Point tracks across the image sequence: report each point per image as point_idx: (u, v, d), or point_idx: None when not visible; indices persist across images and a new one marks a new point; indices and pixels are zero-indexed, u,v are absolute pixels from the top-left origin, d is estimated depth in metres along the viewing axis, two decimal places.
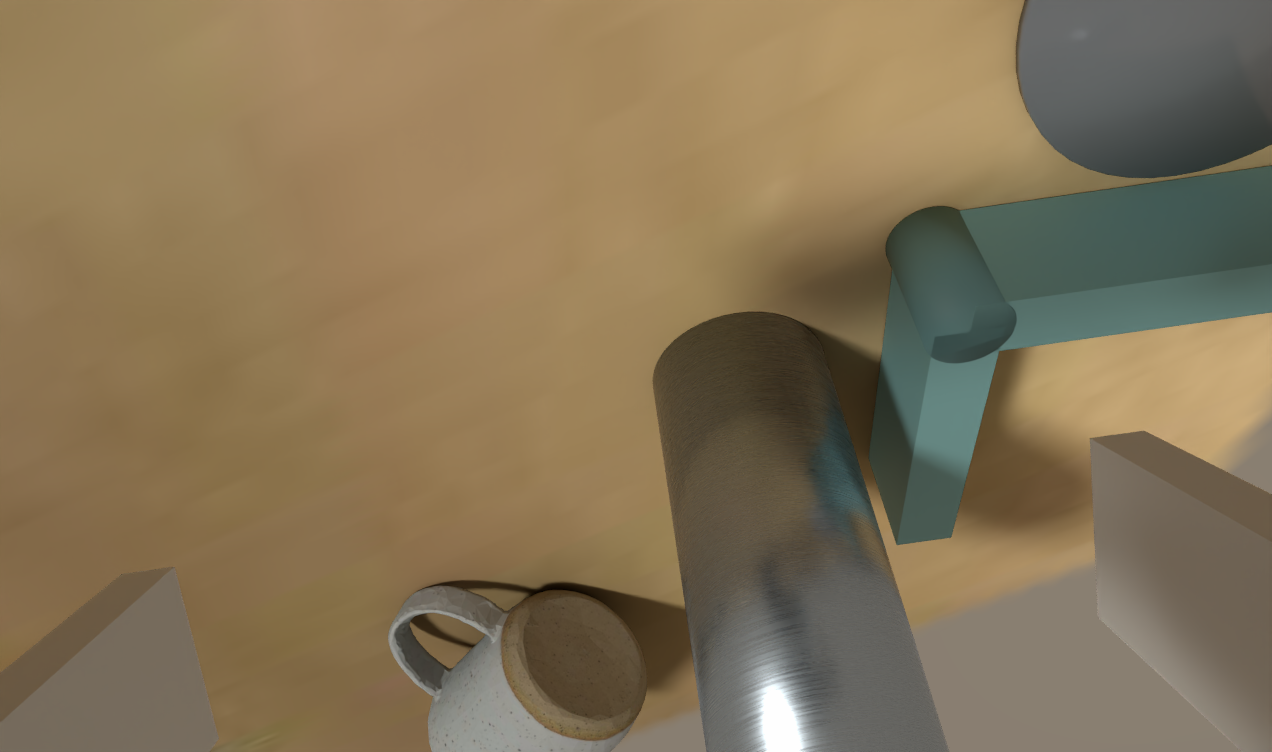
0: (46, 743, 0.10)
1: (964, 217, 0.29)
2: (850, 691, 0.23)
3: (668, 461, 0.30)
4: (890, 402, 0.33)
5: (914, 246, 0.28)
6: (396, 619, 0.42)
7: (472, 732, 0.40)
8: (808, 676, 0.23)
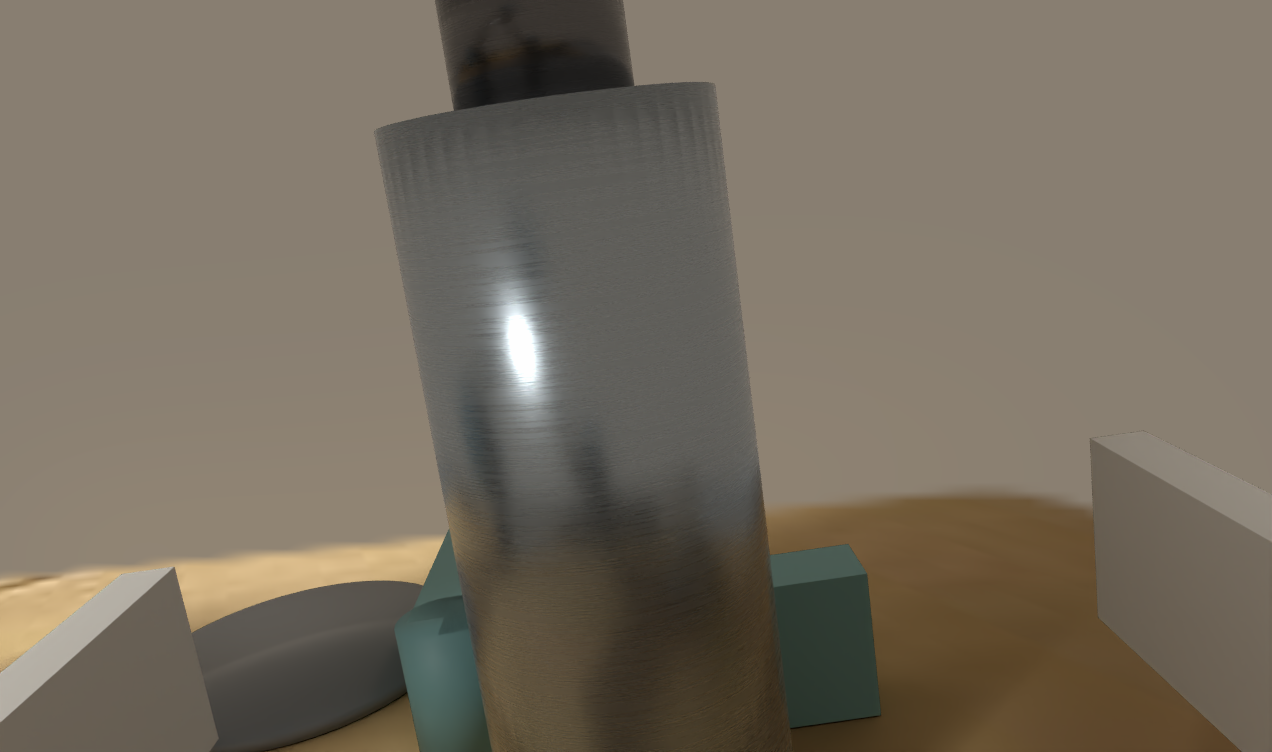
0: (45, 743, 0.10)
1: None
2: None
3: None
4: None
5: (421, 734, 0.25)
6: None
7: None
8: None
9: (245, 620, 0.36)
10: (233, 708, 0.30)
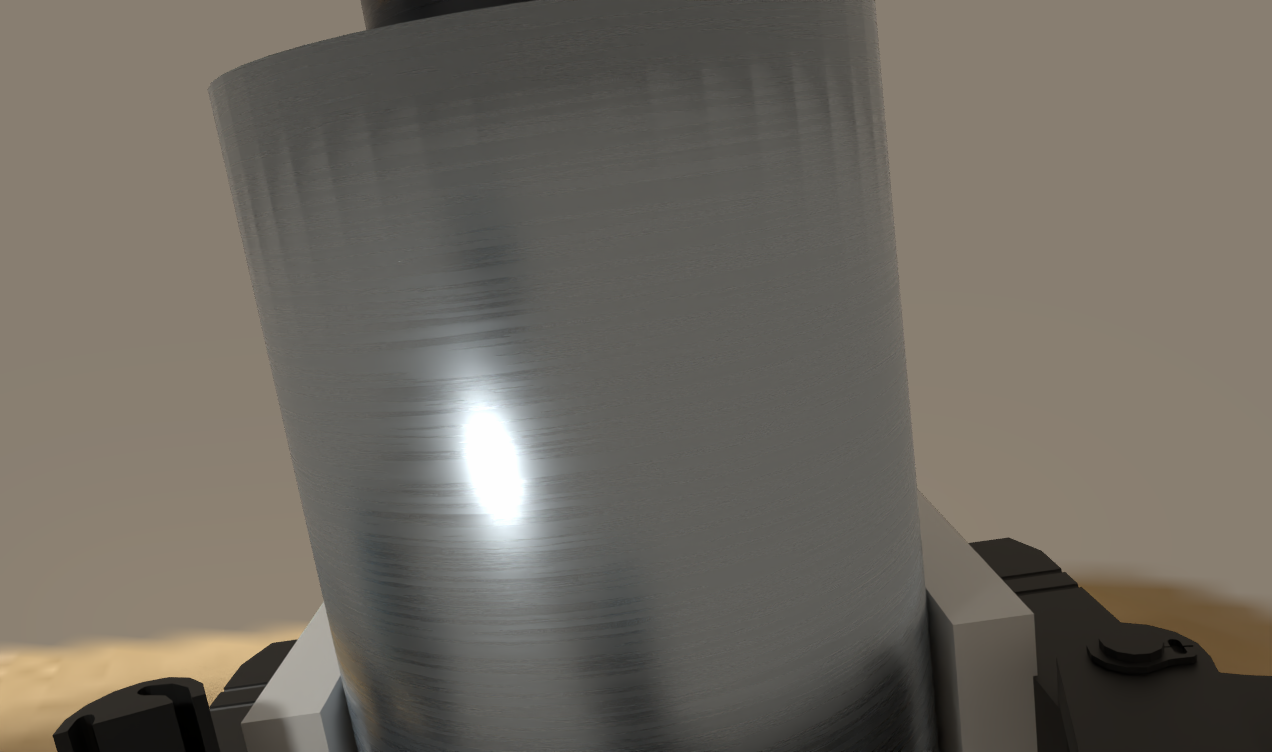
0: None
1: None
2: None
3: None
4: None
5: None
6: None
7: None
8: None
9: None
10: None
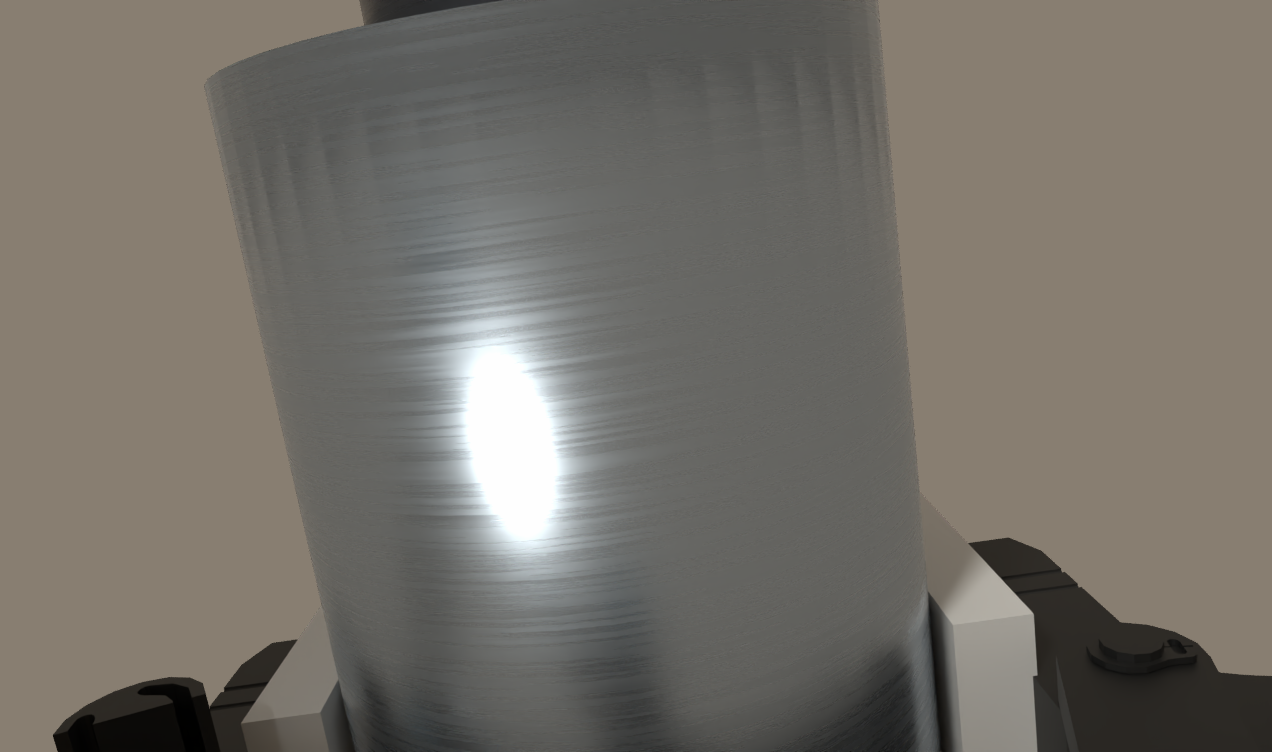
0: None
1: None
2: None
3: None
4: None
5: None
6: None
7: None
8: None
9: None
10: None
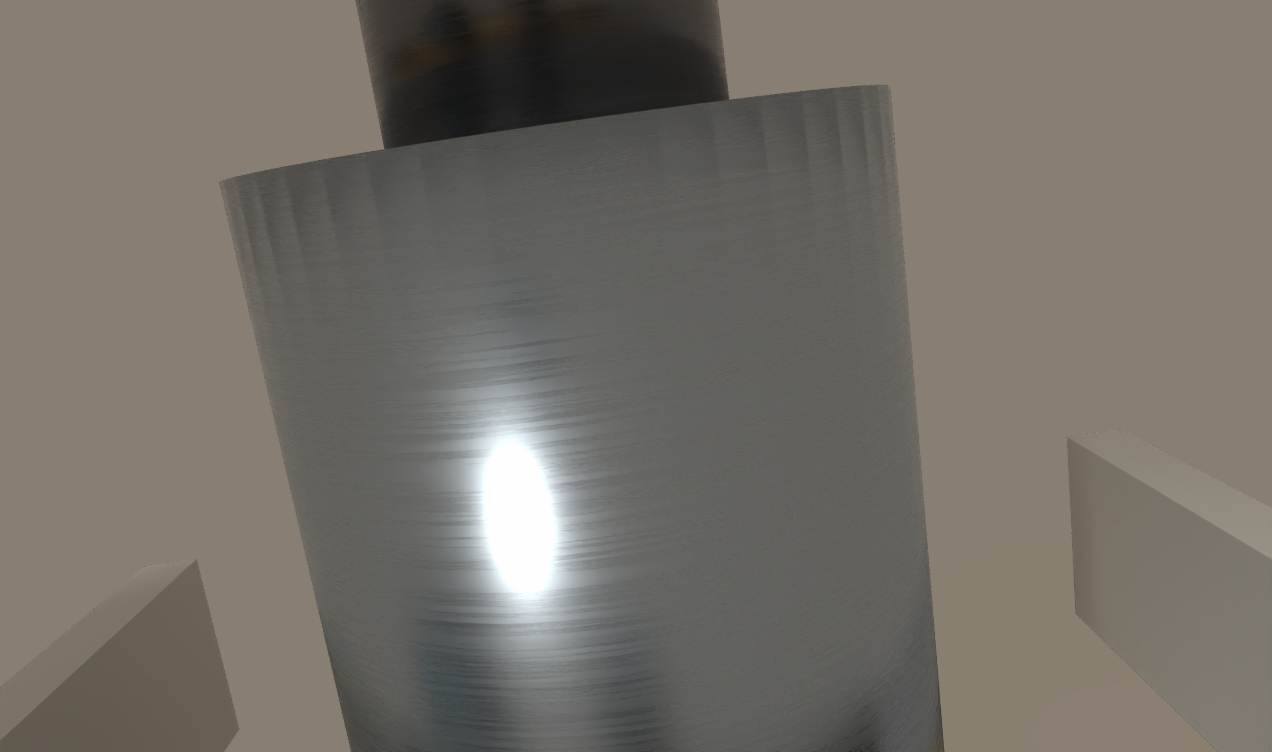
0: (77, 730, 0.11)
1: None
2: None
3: None
4: None
5: None
6: None
7: None
8: None
9: None
10: None
